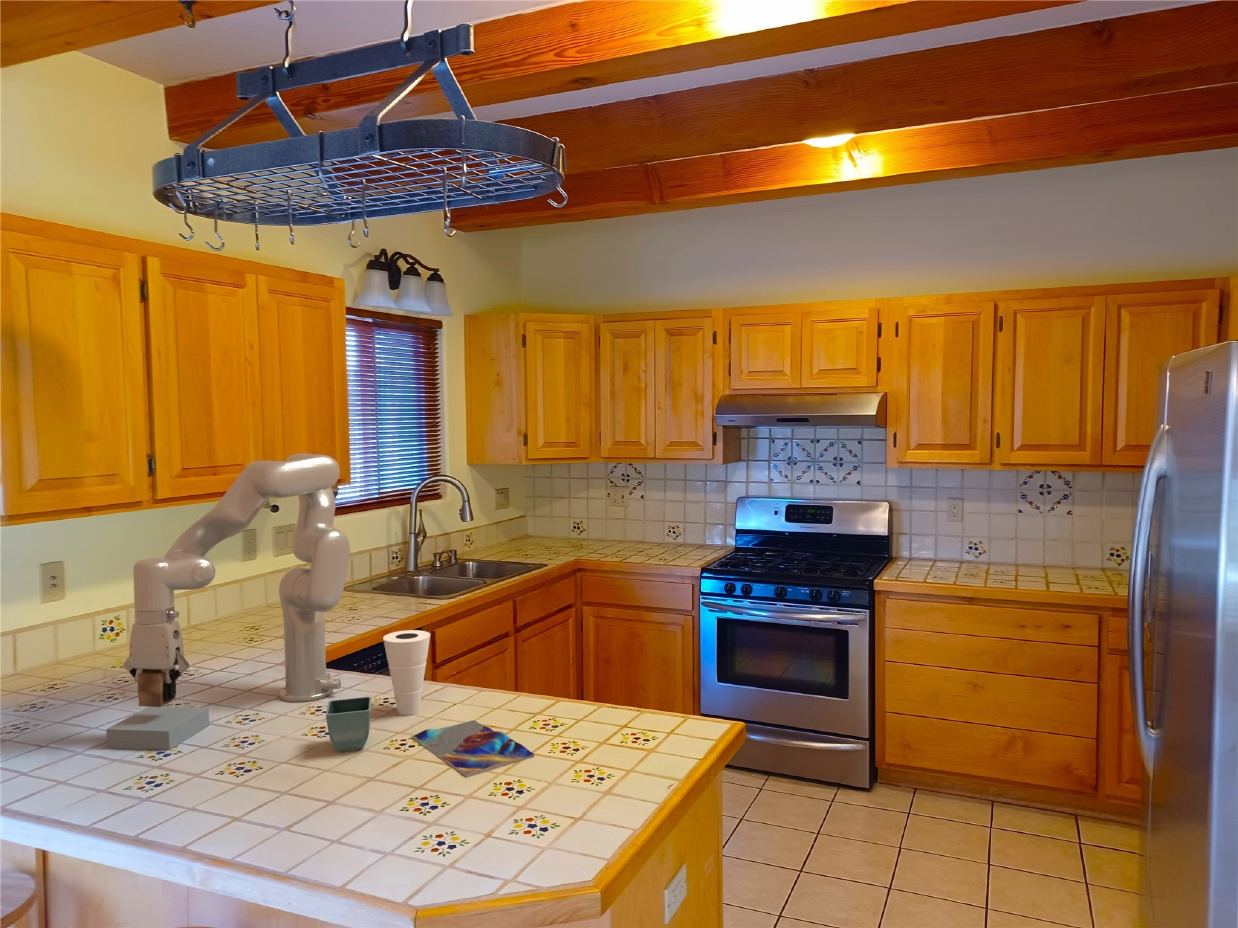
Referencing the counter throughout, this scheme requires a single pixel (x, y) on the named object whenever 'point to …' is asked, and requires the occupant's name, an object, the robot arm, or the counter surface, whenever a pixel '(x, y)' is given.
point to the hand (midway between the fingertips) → (157, 698)
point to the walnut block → (151, 688)
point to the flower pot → (349, 722)
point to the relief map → (472, 747)
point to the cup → (407, 667)
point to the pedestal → (157, 728)
